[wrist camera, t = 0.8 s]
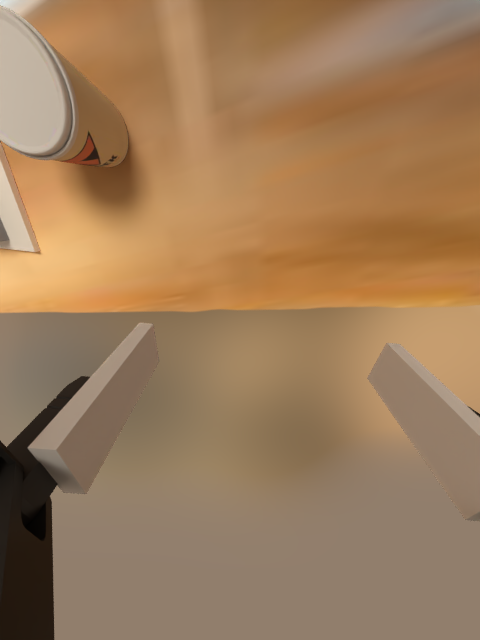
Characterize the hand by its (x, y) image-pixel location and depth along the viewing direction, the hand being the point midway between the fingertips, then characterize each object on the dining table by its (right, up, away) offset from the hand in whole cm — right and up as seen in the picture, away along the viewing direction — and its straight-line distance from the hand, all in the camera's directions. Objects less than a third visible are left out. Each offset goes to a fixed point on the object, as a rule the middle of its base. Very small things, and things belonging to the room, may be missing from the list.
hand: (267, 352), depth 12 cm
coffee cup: (-20, +27, +16) cm, 37 cm away
